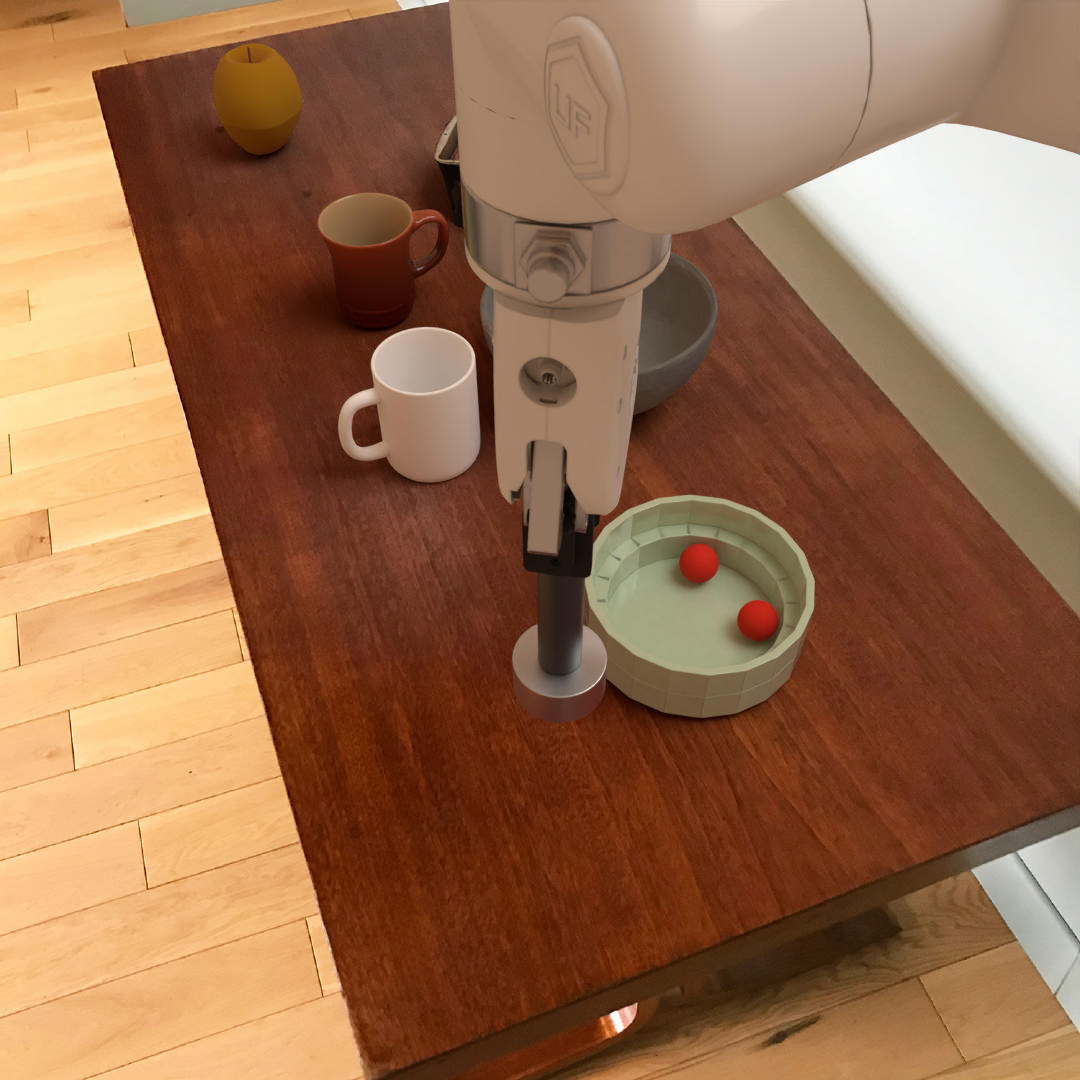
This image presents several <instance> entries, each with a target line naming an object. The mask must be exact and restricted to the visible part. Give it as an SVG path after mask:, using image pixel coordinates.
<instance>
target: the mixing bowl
mask: <svg viewBox="0 0 1080 1080" xmlns="http://www.w3.org/2000/svg"><path fill="white" fill-rule="evenodd" d="M693 544H705V545H707V546H709V547H711V548H712V549H713V550H714V551H715V553H716V554H717V557H718V560H719V566H718V570H717V572H716V574H715V575H714V577H713V578H711V579H710V580H708V581H706V582H703V583H695V582H692V581H690V580H688V579H687V578H685V577H684V576H683V574H682V573H681V570H680V567H679V560H680V556H681V554H682V552H683V551H684V550H685V549H686V548H687V547H689V546H691V545H693ZM815 585H816V581H815V577H814V575H813V572H812V570H811V567H810V564H809V562H808V559H807V557H806V555H805V553H804V551H803V550H802V549H801V547H800V546H799V545H798V544H797V543H796V542H795V540H794V539H793V538H792V537H791V535H790V534H789V533H788V532H787V531H786V529H784V528H783V527H782V526H780V525H779V523H777V522H775V521H773V520H772V519H771V518H768V516H766V515H764V514H763V513H761V512H760V511H758V510H756V509H754V508H752V507H748V506H747V505H746V506H745V505H743V504H741V503H737V502H735V501H733V500H729V499H726V498H720V497H713V496H706V495H705V496H704V495H697V494H685V495H674V496H664V497H658V498H654V499H652V500H649V501H647V502H645V503H641V504H639V505H636V506H633V507H631V508H628V509H626V510H625V511H624V512H622V513H621V514H620V515H619V516H617V517H616V518H614V519H613V520H612V521H611V522H609V523H608V524H607V525H605V526H604V527H603V529H602V530H601V532H600V533H599V535H598V536H597V537H596V539H595V540H594V541H593V561H592V570H591V575H590V576H589V577H587V578H585V594H584V617H583V625H585V626H587V627H588V628H590V629H591V630H593V631H594V632H595V633H596V634H597V635H598V636H599V638H600V639H601V640H602V642H603V644H604V646H605V648H606V652H607V673H606V680H607V681H609V682H610V683H611V684H612V685H614V686H615V687H616V688H617V689H618V690H620V691H621V692H622V693H623V694H624V695H625V696H627V697H628V698H629V699H631V700H633V701H636V702H638V703H640V704H643V705H645V706H647V707H649V708H652V709H654V710H656V711H658V712H661V713H664V714H668V715H669V714H670V715H677V716H683V717H691V718H698V719H705V718H712V717H713V718H714V717H720V716H727V715H736V714H739V713H740V712H743V711H745V710H747V709H749V708H752V707H754V706H756V705H758V704H761V703H763V702H765V701H767V700H769V698H770V697H772V695H773V694H775V693H776V692H777V691H778V690H779V689H780V688H781V687H782V686H783V685H784V684H785V683H786V682H787V681H789V679H790V678H791V675H792V674H793V671H794V670H795V667H796V665H797V662H798V660H799V658H800V656H801V654H802V650H803V647H804V644H805V640H806V637H807V634H808V632H809V628H810V624H811V620H812V618H813V614H814V610H815V593H816V591H815V589H816V588H815ZM753 600H762V601H765V602H768V603H769V604H771V605H772V606H773V607H774V608H775V610H776V611H777V614H778V617H779V624H778V628H777V630H776V632H775V633H774V634H773V635H772V636H771V637H770V638H768V639H766V640H763V641H753V640H750V639H748V638H747V637H745V636H744V635H743V634H742V633H741V631H740V630H739V628H738V624H737V616H738V613H739V611H740V609H741V608H742V607H743V606H744V605H745V604H746V603H748V602H750V601H753Z"/></svg>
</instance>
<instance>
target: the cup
mask: <svg viewBox="0 0 1080 1080" xmlns="http://www.w3.org/2000/svg"><path fill="white" fill-rule="evenodd" d="M475 353H476V352H475V351H474V348H473V347H472V345H471V344H470V343H469V341H467V339H465V337H463V336H462V335H460V334H458V333H456V332H454V331H451V330H449V329H445V328H441V327H434V326H433V327H431V326H422V327H413V328H408V329H405V330H401V331H399V332H396V333H394V334H392V335H390V336H389V337H387V338H385V339H384V340H383V341H382V342H380V344H379V345H378V346H376V349H375V350H374V351H373V353H372V356H371V360H370V370H371V375H372V382H373V387H372V388H368V389H364V390H362V391H359V392H357V393H355V394H353V395H352V396H350V397H348V399H347V400H345V402H344V403H343V405H342V406H341V410H340V412H339V415H338V424H337V426H338V427H337V430H338V431H337V432H338V437H339V441H340V445H341V447H342V449H343V450H344V452H345V453H346V454H347V455H348V456H349V457H351V458H352V459H354V460H355V461H362V462H371V461H376V460H380V459H384V458H386V459H387V461H388V463H389V465H390V466H391V467H392V468H393V469H394V470H395V471H396V472H397V473H398V474H400V475H401V476H403V477H404V478H407V479H409V480H411V481H414V482H420V483H428V484H429V483H440V482H445V481H449V480H452V479H454V478H457V477H459V476H460V475H462V474H463V473H465V472H467V471H468V469H470V468H471V467H472V465H473V464H474V463H475V461H476V460H477V457H478V456H479V453H480V449H481V424H480V409H479V393H478V379H477V362H476V354H475ZM374 405H376V407H377V415H378V420H379V426H380V433H381V439H382V440H381V441H380V442H377V443H375V444H371V445H369V446H363V447H362V446H359V445H357V444H356V442H355V439H354V437H353V431H352V429H353V428H352V427H353V419H354V416H355V414H356V413H357V411H359V410H361V409H363V408H366V407H370V406H374Z"/></svg>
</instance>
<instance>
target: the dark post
mask: <svg viewBox="0 0 1080 1080" xmlns="http://www.w3.org/2000/svg"><path fill="white" fill-rule="evenodd" d="M563 502H565V503H574V504H575V496H574V494H571V493H564V500H563ZM584 594H585V578H577V577H569V576H552V575H547V574H544V573H536V613H537V614H536V615H537V621H536V622H537V623H536V624H534V625H531V626H530V627H529V628H527V629H526V630H525V631H524V632H523V633H522V634H521V635H520V636H519V637H518V639H517V641H516V642H515V645H514V647H513V650H512V655H511V660H512V662H511V663H512V664H511V667H512V687H513V688H512V689H513V692H514V696H515V698H516V700H517V701H518V704H519V705H520V706H521V708H523V709H524V710H525V711H526V712H527V713H529V714H530V715H531V716H533V717H534V718H537V719H539V720H541V721H545V722H549V723H557V724H563V723H571V722H575V721H578V720H581V719H583V718H585V717H587V716H589V714H591V713H592V712H593V711H594V710H595V709H597V707H598V706H599V705H600V703H601V701H602V700H603V698H604V695H605V692H606V685H607V678H606V673H607V652H606V648H605V646H604V644H603V642H602V640H601V639H600V638H599V636H598V635H597V634H596V633H595V632H594V631H593V630H591V629H590V628H588V627H587V626H585V625H583V617H584Z"/></svg>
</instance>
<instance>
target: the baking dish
mask: <svg viewBox="0 0 1080 1080" xmlns="http://www.w3.org/2000/svg"><path fill="white" fill-rule="evenodd" d="M433 154H434V155H433V157H434V160H435V161H436V163H437V166H438V168H439V171H440V173H441V175H442V178H443V181H444V185H445V188H446V192H447V197H448V199H449V202H450V203H449V204H450V207H451V210H452V214H453V218H454V224H455V226H456V227H460V228H464V227H463V212H462V196H461V181H460V162H459V146H458V131H457V116H456V114H455V115H454V116H452V117H451V118H449V120H448V121H447V122H446V123H445V125H444V128H443V130H442V132H441V134H440V135H439V137H438V139H437V142H436V143H435V151H434V153H433Z"/></svg>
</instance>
